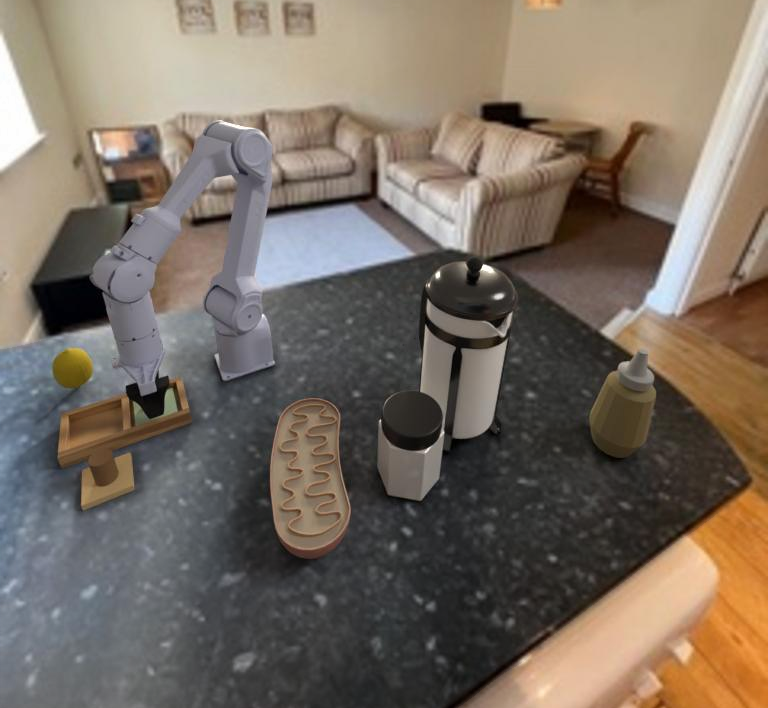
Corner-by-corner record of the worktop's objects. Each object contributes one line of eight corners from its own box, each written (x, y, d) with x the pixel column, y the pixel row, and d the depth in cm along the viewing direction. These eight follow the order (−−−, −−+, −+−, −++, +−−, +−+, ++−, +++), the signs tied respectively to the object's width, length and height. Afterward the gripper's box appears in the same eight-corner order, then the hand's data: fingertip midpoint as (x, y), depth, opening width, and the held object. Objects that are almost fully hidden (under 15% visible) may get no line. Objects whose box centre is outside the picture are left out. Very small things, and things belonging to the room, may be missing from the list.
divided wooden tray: (65, 424, 70) (61, 413, 70) (183, 386, 79) (181, 375, 78) (61, 469, 63) (57, 458, 62) (192, 422, 71) (189, 411, 70)
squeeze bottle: (635, 430, 72) (669, 340, 65) (644, 472, 66) (683, 377, 58) (582, 416, 75) (608, 328, 67) (585, 455, 68) (615, 362, 60)
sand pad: (131, 456, 66) (124, 432, 63) (134, 490, 61) (126, 464, 59) (83, 474, 63) (74, 449, 61) (82, 510, 58) (72, 485, 56)
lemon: (80, 400, 75) (67, 363, 71) (52, 395, 76) (37, 358, 72) (105, 378, 80) (93, 342, 76) (78, 373, 81) (66, 337, 77)
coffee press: (510, 399, 78) (540, 244, 65) (489, 473, 65) (522, 297, 52) (417, 368, 84) (428, 222, 72) (381, 430, 71) (386, 264, 58)
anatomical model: (354, 568, 53) (354, 542, 51) (268, 584, 51) (264, 557, 49) (338, 417, 73) (337, 394, 71) (276, 425, 71) (273, 401, 69)
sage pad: (173, 391, 76) (168, 369, 74) (178, 416, 72) (173, 392, 69) (134, 404, 73) (127, 381, 71) (136, 430, 69) (129, 406, 67)
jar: (404, 438, 70) (408, 379, 65) (448, 469, 65) (456, 408, 60) (365, 477, 63) (366, 415, 58) (411, 514, 59) (416, 450, 54)
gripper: (103, 311, 69) (123, 379, 75) (105, 368, 58) (128, 442, 64) (153, 300, 73) (168, 365, 79) (164, 351, 61) (181, 423, 67)
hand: (153, 399), depth 72 cm, fingers open, 7 cm apart
